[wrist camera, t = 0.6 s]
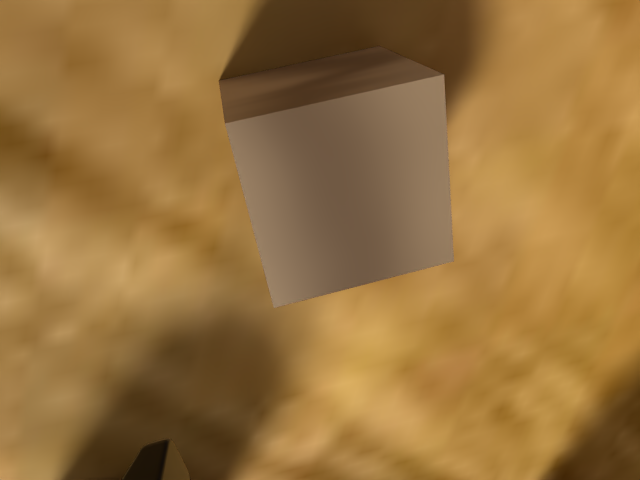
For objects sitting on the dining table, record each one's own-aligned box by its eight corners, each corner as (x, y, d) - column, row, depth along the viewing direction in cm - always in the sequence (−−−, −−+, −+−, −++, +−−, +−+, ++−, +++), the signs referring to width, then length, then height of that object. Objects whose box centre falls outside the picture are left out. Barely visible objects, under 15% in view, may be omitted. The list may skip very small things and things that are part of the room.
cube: (378, 45, 18) (443, 74, 13) (394, 192, 20) (453, 261, 16) (218, 79, 17) (225, 123, 12) (256, 226, 20) (273, 308, 15)
